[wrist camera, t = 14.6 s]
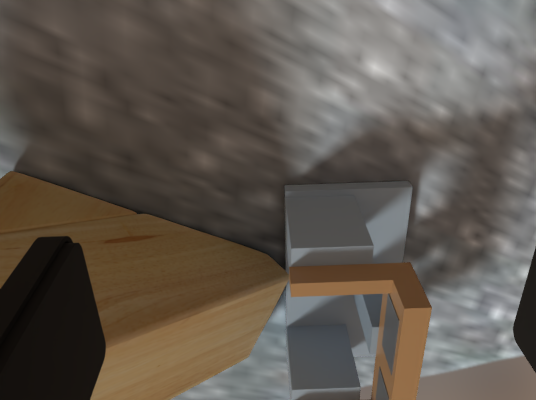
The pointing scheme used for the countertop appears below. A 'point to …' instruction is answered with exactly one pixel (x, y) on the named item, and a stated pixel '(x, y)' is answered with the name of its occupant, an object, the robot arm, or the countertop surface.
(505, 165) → the countertop surface
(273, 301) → the knife block
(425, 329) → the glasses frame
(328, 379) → the gray blocky stand
